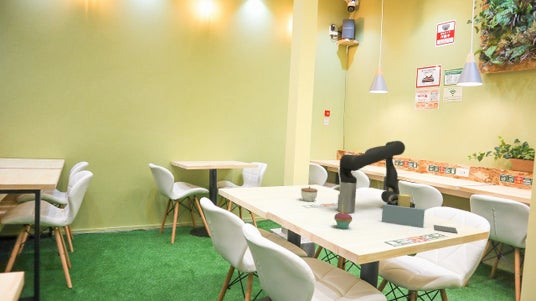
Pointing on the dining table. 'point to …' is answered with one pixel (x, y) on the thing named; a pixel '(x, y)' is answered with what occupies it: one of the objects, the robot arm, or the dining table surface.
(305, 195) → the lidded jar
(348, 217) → the cupcake
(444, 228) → the mat
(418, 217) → the screen
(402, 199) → the letter block
